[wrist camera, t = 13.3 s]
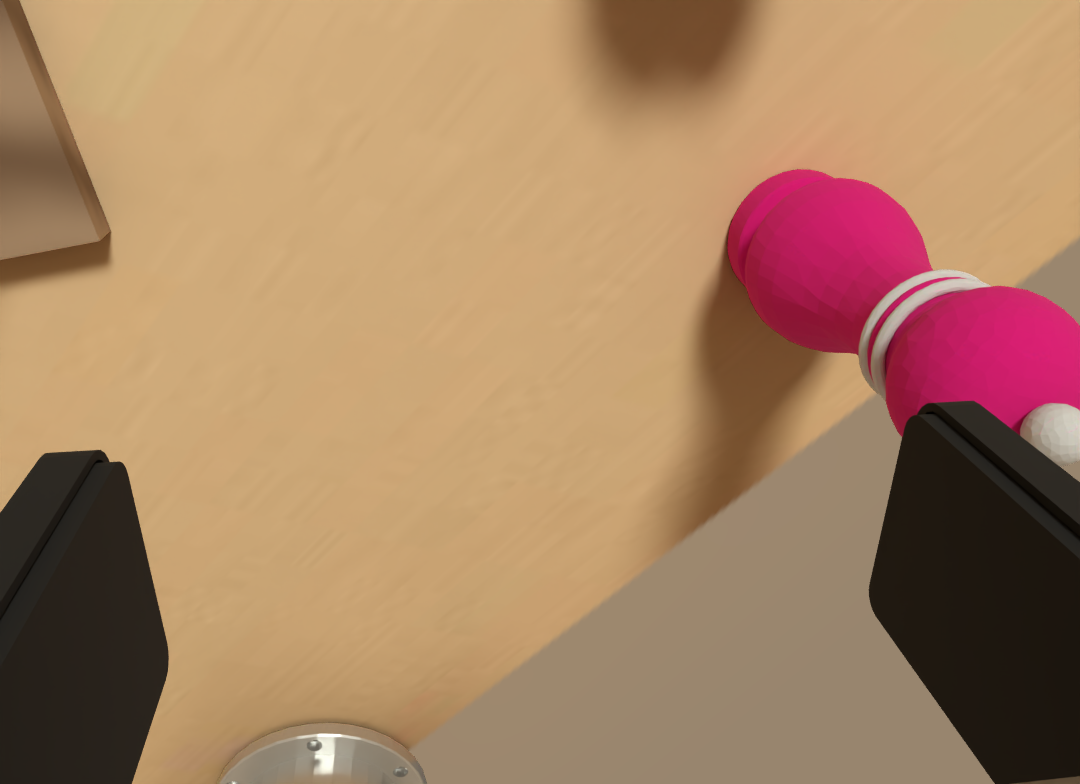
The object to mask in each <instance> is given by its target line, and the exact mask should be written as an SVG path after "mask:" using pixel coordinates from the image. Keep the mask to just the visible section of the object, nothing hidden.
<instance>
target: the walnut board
mask: <svg viewBox="0 0 1080 784" xmlns="http://www.w3.org/2000/svg"><path fill="white" fill-rule="evenodd" d="M110 231H111V230H110V228H109V225H108V222H107V220H106V217H105V215H104V212H103V210H102V207H101V205H100V202H99V200H98V197H97V195H96V192H95V190H94V187H93V185H92V182H91V180H90V177H89V175H88V172H87V170H86V167H85V165H84V162H83V160H82V157H81V155H80V152H79V150H78V147H77V145H76V142H75V139H74V137H73V134H72V132H71V129H70V127H69V124H68V122H67V119H66V117H65V114H64V112H63V109H62V107H61V104H60V102H59V99H58V97H57V94H56V92H55V89H54V87H53V84H52V82H51V79H50V77H49V74H48V72H47V69H46V67H45V64H44V62H43V59H42V57H41V54H40V51H39V49H38V46H37V44H36V41H35V39H34V36H33V34H32V31H31V29H30V26H29V24H28V21H27V19H26V16H25V14H24V11H23V9H22V6H21V4H20V1H19V0H0V260H3V259H8V258H13V257H19V256H24V255H29V254H35V253H40V252H45V251H50V250H56V249H61V248H66V247H71V246H77V245H82V244H87V243H93V242H98V241H100V240H102V239H103V238H104V237H105V236H106V235H107V234H108V233H109V232H110Z"/></svg>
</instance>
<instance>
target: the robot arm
mask: <svg viewBox="0 0 1080 784" xmlns="http://www.w3.org/2000/svg"><path fill="white" fill-rule="evenodd" d="M869 598H870V603H871V607H872V609H873V612H874V614H875V615H876V617H877V619H878V620H879V621H880V623H881V624H882V626H883V627H884V628H885V630H886V631H887V633H888V634H889V635H890V637H891V638H892V640H893V641H894V642H895V644H896V645H897V647H898V648H899V650H900V651H901V652H902V654H903V655H904V657H905V658H906V659H907V661H908V662H909V664H910V665H911V666H912V668H913V669H914V671H915V672H916V673H917V675H918V676H919V678H920V679H921V681H922V682H923V683H924V685H925V686H926V688H927V689H928V690H929V692H930V693H931V694H932V696H933V697H934V699H935V700H936V701H937V703H938V704H939V706H940V707H941V709H942V710H943V711H944V713H945V714H946V716H947V717H948V718H949V720H950V721H951V723H952V724H953V726H954V727H955V728H956V730H957V731H958V733H959V734H960V735H961V737H962V738H963V740H964V741H965V742H966V744H967V745H968V747H969V748H970V749H971V751H972V752H973V754H974V755H975V756H976V758H977V759H978V761H979V762H980V764H981V765H982V766H983V768H984V769H985V771H986V772H987V773H988V775H989V776H990V778H991V779H992V780H993V782H994V783H995V784H1080V482H1079V481H1077V480H1076V479H1074V478H1073V477H1072V476H1071V475H1070V474H1068V473H1067V472H1066V471H1064V470H1063V469H1062V468H1061V467H1059V466H1058V465H1057V464H1056V463H1054V462H1053V461H1052V460H1051V459H1049V458H1048V457H1047V456H1045V455H1044V454H1043V453H1042V452H1040V451H1039V450H1038V449H1036V448H1035V447H1034V446H1033V445H1031V444H1030V443H1029V442H1028V441H1026V440H1025V439H1024V438H1022V437H1021V436H1020V435H1019V434H1017V433H1016V432H1015V431H1014V430H1012V429H1011V428H1010V427H1008V426H1007V425H1006V424H1005V423H1003V422H1002V421H1001V420H999V419H998V418H997V417H996V416H994V415H993V414H992V413H991V412H989V411H988V410H987V409H985V408H984V407H983V406H982V405H980V404H979V403H977V402H975V401H955V402H937V403H927V404H925V405H924V406H922V407H921V409H920V410H919V411H918V413H917V415H913V416H911V417H910V418H909V419H908V421H907V422H906V425H905V428H904V432H903V437H902V441H901V446H900V450H899V455H898V459H897V464H896V468H895V473H894V477H893V482H892V486H891V491H890V495H889V500H888V504H887V509H886V513H885V517H884V522H883V527H882V531H881V536H880V540H879V544H878V549H877V553H876V558H875V562H874V567H873V572H872V576H871V580H870V585H869ZM168 660H169V656H168V646H167V640H166V636H165V632H164V628H163V623H162V619H161V615H160V610H159V606H158V602H157V597H156V593H155V589H154V584H153V580H152V576H151V572H150V567H149V563H148V559H147V554H146V550H145V546H144V541H143V537H142V533H141V528H140V524H139V520H138V515H137V511H136V507H135V503H134V498H133V494H132V490H131V485H130V481H129V477H128V473H127V470H126V468H125V466H124V464H123V463H122V462H109V459H108V458H107V456H106V454H105V453H104V452H103V451H101V450H92V451H74V452H56V453H45V454H44V455H43V456H42V457H40V459H39V460H38V461H37V463H36V464H35V465H34V467H33V468H32V470H31V471H30V472H29V474H28V475H27V477H26V478H25V479H24V481H23V482H22V484H21V485H20V486H19V488H18V489H17V490H16V492H15V493H14V495H13V496H12V497H11V499H10V500H9V502H8V503H7V504H6V506H5V507H4V508H3V510H2V511H1V513H0V784H132V781H133V778H134V775H135V772H136V769H137V766H138V763H139V760H140V757H141V754H142V751H143V748H144V745H145V742H146V739H147V735H148V732H149V729H150V726H151V723H152V720H153V717H154V714H155V711H156V708H157V705H158V702H159V699H160V696H161V693H162V690H163V687H164V684H165V681H166V677H167V672H168ZM217 784H427V782H426V779H425V776H424V772H423V770H422V768H421V766H420V765H419V763H418V762H417V760H416V758H415V757H414V756H413V755H412V754H411V753H410V752H409V751H408V750H407V749H406V748H405V747H404V746H403V745H401V744H399V743H398V742H396V741H395V740H393V739H392V738H390V737H388V736H386V735H384V734H381V733H379V732H376V731H374V730H371V729H368V728H363V727H359V726H355V725H350V724H339V723H313V724H305V725H300V726H294V727H289V728H286V729H283V730H280V731H277V732H274V733H271V734H268V735H266V736H264V737H262V738H260V739H258V740H256V741H254V742H252V743H251V744H249V745H248V746H247V747H245V748H244V749H243V750H241V751H240V752H239V753H237V754H236V755H235V756H234V758H233V759H232V760H231V761H230V762H229V763H228V764H227V765H226V766H225V768H224V770H223V772H222V774H221V775H220V777H219V779H218V782H217Z"/></svg>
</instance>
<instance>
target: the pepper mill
mask: <svg viewBox="0 0 1080 784" xmlns="http://www.w3.org/2000/svg"><path fill="white" fill-rule="evenodd" d="M727 246H728V256H729V260H730V263H731V267H732V269H733V271H734V273H735V275H736V276H737V278H738V279H739V280H740V282H741V283H742V284H743V285H744V286H745V287H746V288H747V292H748V295H749V299H750V301H751V303H752V305H753V307H754V309H755V311H756V312H757V314H758V315H759V316H760V318H761V319H762V320H763V321H764V322H765V323H766V324H767V325H768V326H769V327H770V328H772V329H773V330H774V331H776V332H777V333H779V334H780V335H782V336H783V337H784V338H786V339H787V340H789V341H791V342H793V343H796V344H798V345H801V346H804V347H807V348H810V349H814V350H819V351H823V352H834V353H853V354H857V355H858V356H859V364H860V368H861V371H862V374H863V376H864V378H865V380H866V381H867V383H868V384H869V385H870V387H871V388H872V389H873V390H874V391H875V392H877V393H878V394H879V395H881V397H882V398H883V399H884V400H885V401H886V404H887V407H888V410H889V414H890V417H891V419H892V421H893V423H894V425H895V427H896V429H897V431H898V433H899V434H900V435H901V436H902V437H903V432H904V428H905V425H906V422H907V421H908V419H909V418H910V417H911V416H913V415H917V413H918V411H919V410H920V409H921V407H922V406H924V405H925V404H927V403H937V402H955V401H975V402H977V403H979V404H980V405H982V406H983V407H984V408H985V409H987V410H988V411H989V412H991V413H992V414H993V415H994V416H996V417H997V418H998V419H999V420H1001V421H1002V422H1003V423H1005V424H1006V425H1007V426H1008V427H1010V428H1011V429H1012V430H1014V431H1015V432H1016V433H1017V434H1019V435H1020V436H1021V437H1022V438H1024V439H1025V440H1026V441H1028V442H1029V443H1030V444H1031V445H1033V446H1034V447H1035V448H1036V449H1038V450H1039V451H1040V452H1042V453H1043V454H1044V455H1045V456H1047V457H1048V458H1049V459H1051V460H1052V461H1053V462H1054V463H1056V464H1057V465H1058V466H1066V465H1069V464H1072V463H1075V462H1077V461H1079V460H1080V326H1079V324H1078V323H1077V322H1076V321H1075V320H1074V319H1073V318H1072V317H1071V316H1070V315H1069V314H1068V313H1067V312H1066V311H1065V310H1064V309H1062V308H1061V307H1059V306H1058V305H1056V304H1055V303H1053V302H1052V301H1050V300H1049V299H1047V298H1045V297H1043V296H1040V295H1038V294H1035V293H1033V292H1030V291H1028V290H1023V289H1018V288H1012V287H1005V286H990V285H988V284H986V283H984V282H981V281H980V280H979V279H978V278H976V277H974V276H972V275H970V274H968V273H965V272H962V271H956V270H948V269H941V270H934V271H933V269H932V268H931V265H930V263H929V259H928V255H927V252H926V248H925V245H924V242H923V238H922V236H921V234H920V232H919V230H918V229H917V227H916V225H915V224H914V222H913V220H912V219H911V217H910V216H909V214H908V213H907V211H906V210H905V209H904V208H903V207H902V206H901V205H900V204H898V203H897V202H896V201H895V200H894V199H893V198H891V197H890V196H889V195H888V194H886V193H885V192H883V191H882V190H881V189H879V188H878V187H876V186H873V185H871V184H869V183H866V182H862V181H858V180H854V179H844V178H836V179H835V178H833V177H831V176H829V175H827V174H824V173H822V172H818V171H814V170H801V169H797V170H792V171H787V172H783V173H780V174H778V175H775V176H773V177H771V178H769V179H767V180H766V181H764V182H762V183H761V184H759V185H758V186H757V187H756V188H755V189H754V190H753V191H751V192H750V194H749V195H748V196H747V197H746V198H745V199H744V201H743V202H742V203H741V205H740V207H739V208H738V210H737V212H736V214H735V215H734V217H733V220H732V223H731V226H730V229H729V236H728V245H727Z"/></svg>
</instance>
